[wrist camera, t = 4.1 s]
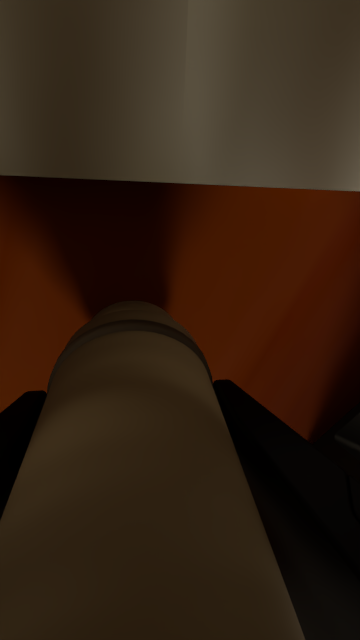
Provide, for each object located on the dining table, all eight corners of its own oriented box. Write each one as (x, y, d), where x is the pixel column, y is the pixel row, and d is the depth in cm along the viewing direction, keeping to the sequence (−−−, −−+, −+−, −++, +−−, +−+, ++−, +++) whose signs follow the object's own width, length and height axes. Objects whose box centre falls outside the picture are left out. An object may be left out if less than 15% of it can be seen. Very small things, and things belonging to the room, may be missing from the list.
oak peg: (76, 395, 10) (-41, 874, 3) (59, 286, 8) (-303, 876, 1) (190, 388, 11) (293, 780, 4) (198, 285, 9) (426, 687, 2)
